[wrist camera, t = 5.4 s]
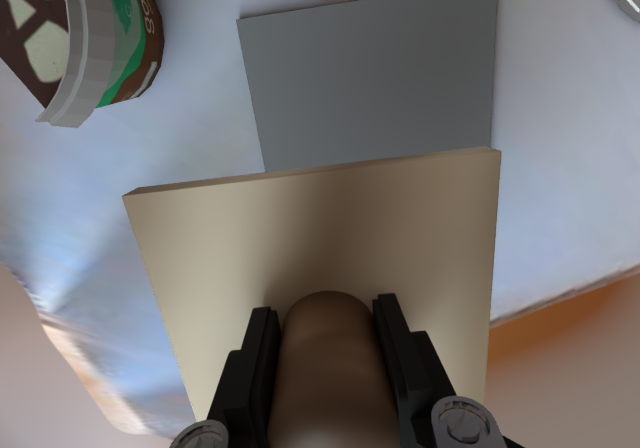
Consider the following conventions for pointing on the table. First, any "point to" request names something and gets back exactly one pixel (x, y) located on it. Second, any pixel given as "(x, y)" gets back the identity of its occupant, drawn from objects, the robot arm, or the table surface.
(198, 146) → the table surface
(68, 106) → the food container
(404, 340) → the robot arm
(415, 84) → the mat
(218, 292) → the lid
